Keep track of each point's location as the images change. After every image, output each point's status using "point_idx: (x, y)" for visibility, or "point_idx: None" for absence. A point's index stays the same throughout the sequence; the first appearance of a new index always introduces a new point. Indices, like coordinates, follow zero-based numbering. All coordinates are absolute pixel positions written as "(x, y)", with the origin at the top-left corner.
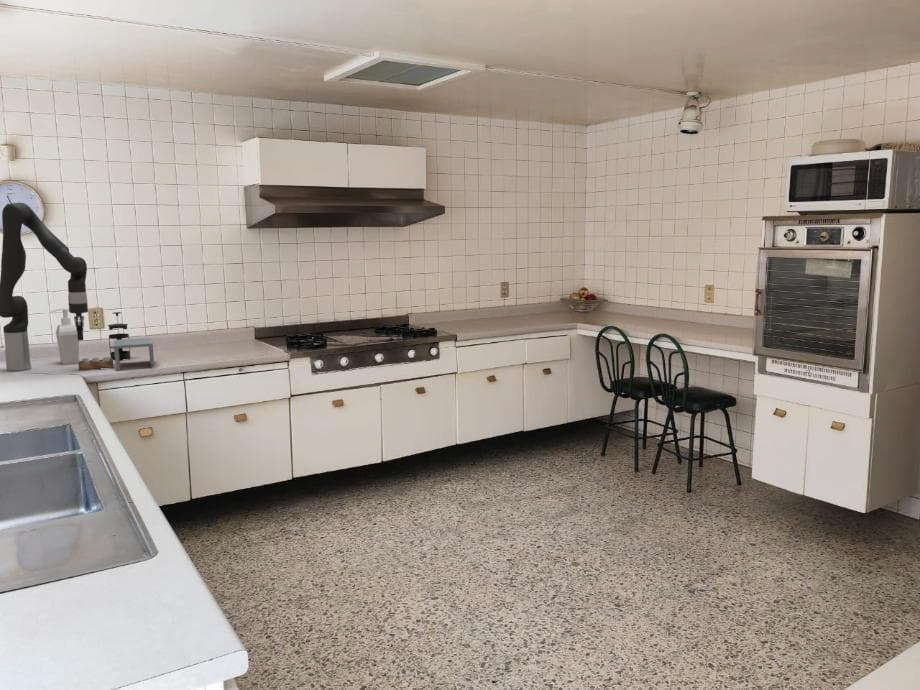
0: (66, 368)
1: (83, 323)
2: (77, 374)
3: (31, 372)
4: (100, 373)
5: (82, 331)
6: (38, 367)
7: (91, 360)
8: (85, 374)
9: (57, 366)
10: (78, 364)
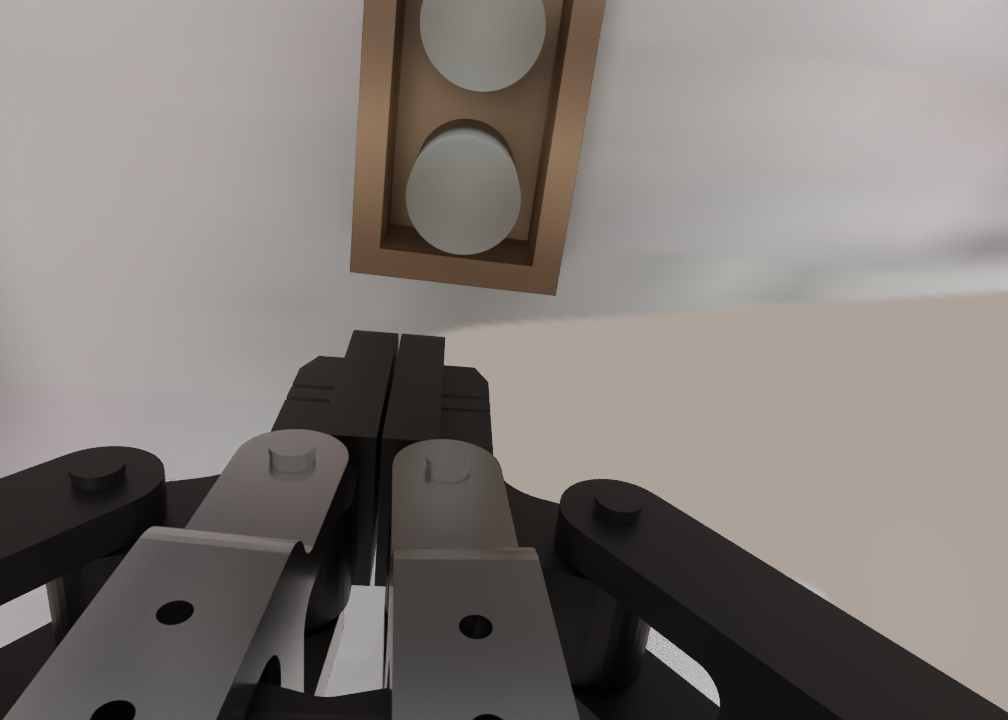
0: (257, 377)
1: (560, 678)
2: (793, 294)
3: (343, 667)
4: (947, 17)
5: (490, 471)
6: (39, 615)
7: (389, 89)
8: (867, 209)
9: (48, 455)
10: (554, 288)
